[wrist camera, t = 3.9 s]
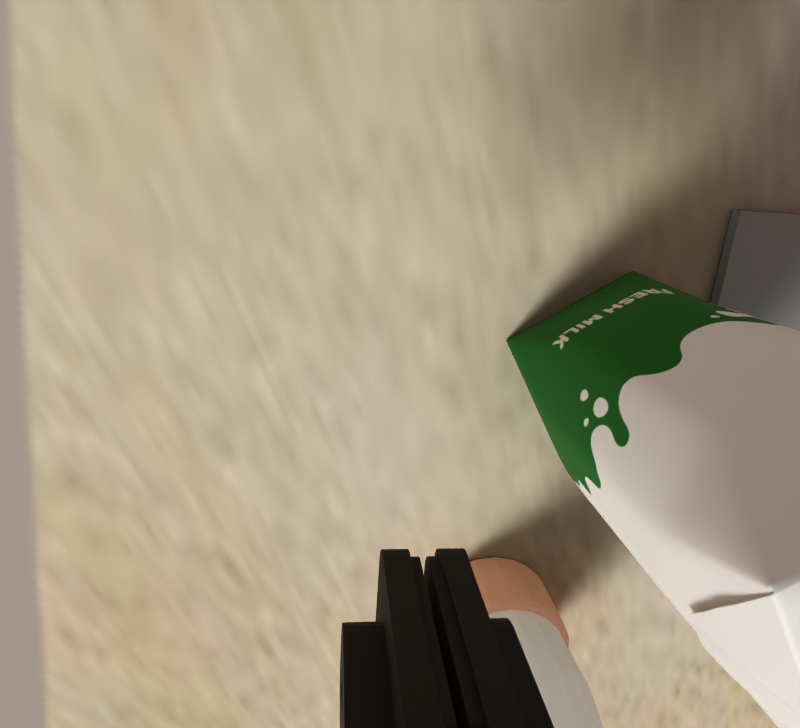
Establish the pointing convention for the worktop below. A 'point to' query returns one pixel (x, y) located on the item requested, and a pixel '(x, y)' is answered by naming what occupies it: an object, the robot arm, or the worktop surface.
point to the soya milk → (687, 460)
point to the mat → (761, 267)
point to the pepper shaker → (538, 638)
